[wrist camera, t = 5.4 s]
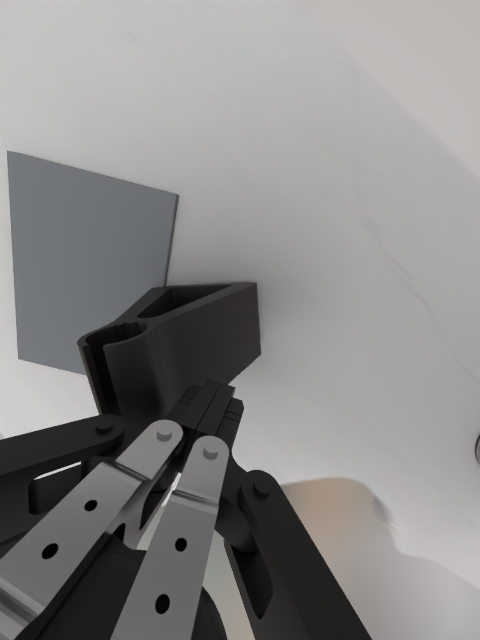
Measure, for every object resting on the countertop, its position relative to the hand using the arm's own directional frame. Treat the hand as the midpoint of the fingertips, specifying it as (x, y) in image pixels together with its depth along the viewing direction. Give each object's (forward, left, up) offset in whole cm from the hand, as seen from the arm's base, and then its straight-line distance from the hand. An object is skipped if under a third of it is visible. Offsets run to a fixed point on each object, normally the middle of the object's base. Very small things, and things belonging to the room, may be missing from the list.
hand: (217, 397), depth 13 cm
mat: (+13, 0, -11) cm, 17 cm away
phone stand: (+2, -1, -10) cm, 10 cm away
